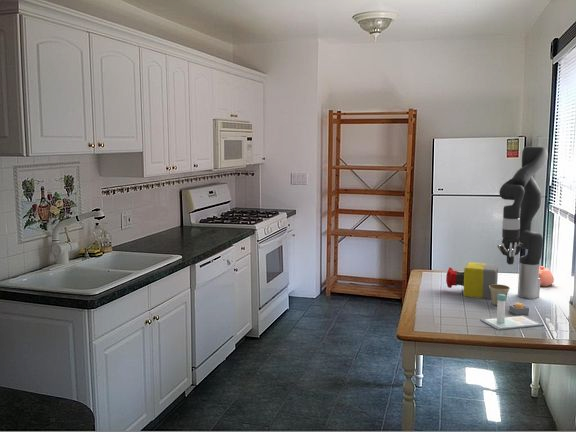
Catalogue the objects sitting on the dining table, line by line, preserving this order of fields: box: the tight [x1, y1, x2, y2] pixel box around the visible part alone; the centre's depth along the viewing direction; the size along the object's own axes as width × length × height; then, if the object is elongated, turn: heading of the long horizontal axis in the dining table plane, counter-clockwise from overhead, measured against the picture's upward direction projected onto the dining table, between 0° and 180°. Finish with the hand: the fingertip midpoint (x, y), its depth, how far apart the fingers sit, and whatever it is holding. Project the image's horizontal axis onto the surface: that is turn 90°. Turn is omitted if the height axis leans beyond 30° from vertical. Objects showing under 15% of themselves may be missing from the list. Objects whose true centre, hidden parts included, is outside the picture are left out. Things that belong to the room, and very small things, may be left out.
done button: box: [514, 302, 525, 308], centre depth 251 cm, size 4×4×4 cm
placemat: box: [480, 315, 544, 331], centre depth 238 cm, size 22×13×1 cm, turn 103°
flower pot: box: [489, 283, 511, 306], centre depth 264 cm, size 9×9×9 cm
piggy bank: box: [539, 265, 555, 288], centre depth 298 cm, size 12×14×10 cm
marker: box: [496, 294, 507, 323], centre depth 236 cm, size 3×3×12 cm
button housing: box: [508, 304, 530, 316], centre depth 251 cm, size 6×6×3 cm
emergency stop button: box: [445, 261, 499, 300], centre depth 282 cm, size 15×24×15 cm, turn 65°
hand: (510, 264), depth 256 cm, fingers closed
